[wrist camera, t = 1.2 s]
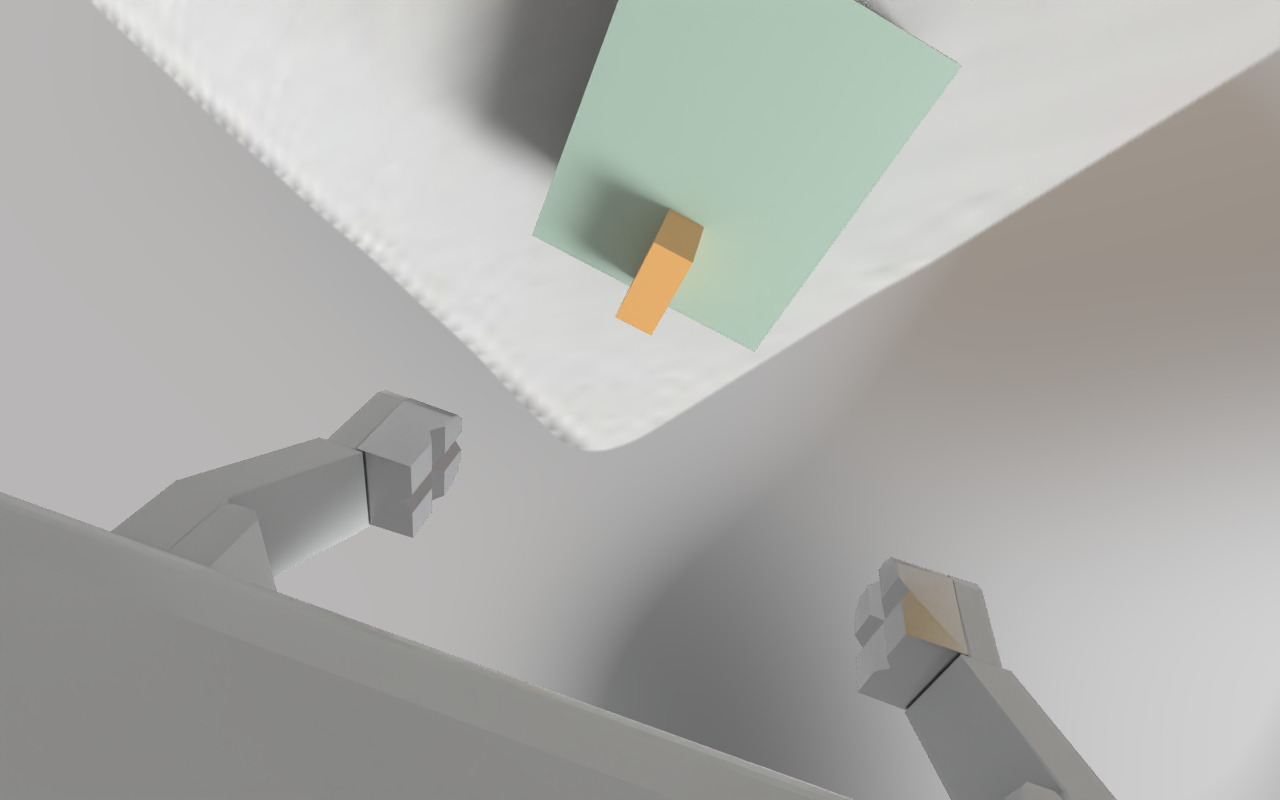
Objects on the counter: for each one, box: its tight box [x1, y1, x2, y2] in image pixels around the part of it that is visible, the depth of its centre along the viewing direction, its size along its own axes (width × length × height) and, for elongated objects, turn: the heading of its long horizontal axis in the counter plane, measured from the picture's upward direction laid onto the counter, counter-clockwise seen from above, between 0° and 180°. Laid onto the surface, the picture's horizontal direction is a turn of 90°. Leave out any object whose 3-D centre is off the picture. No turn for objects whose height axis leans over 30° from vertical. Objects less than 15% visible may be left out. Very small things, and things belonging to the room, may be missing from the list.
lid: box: [532, 0, 962, 352], centre depth 26 cm, size 13×15×6 cm
